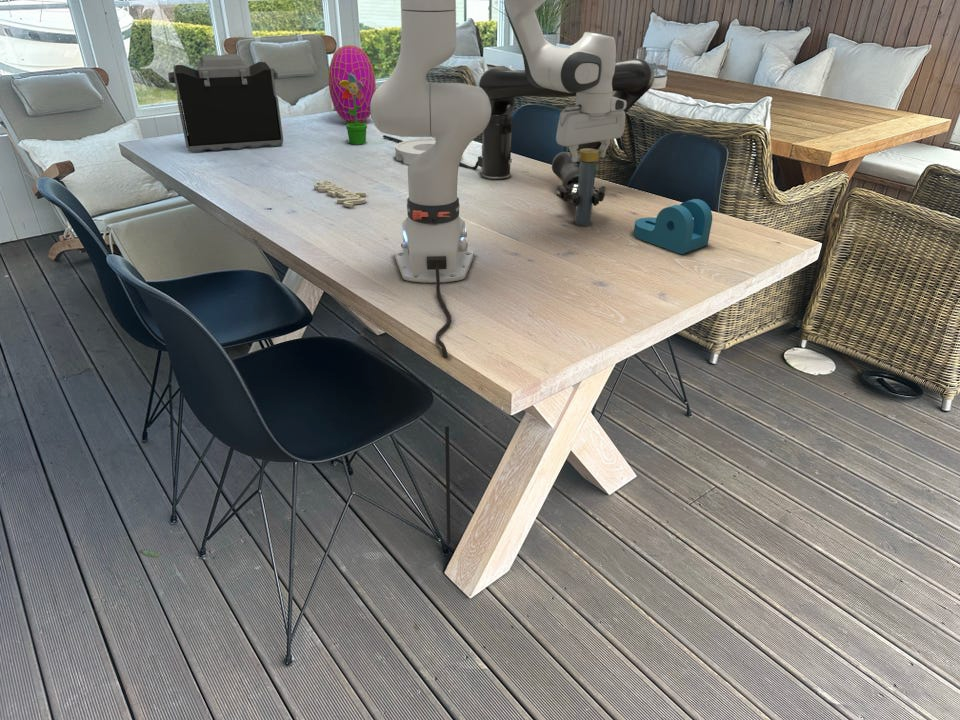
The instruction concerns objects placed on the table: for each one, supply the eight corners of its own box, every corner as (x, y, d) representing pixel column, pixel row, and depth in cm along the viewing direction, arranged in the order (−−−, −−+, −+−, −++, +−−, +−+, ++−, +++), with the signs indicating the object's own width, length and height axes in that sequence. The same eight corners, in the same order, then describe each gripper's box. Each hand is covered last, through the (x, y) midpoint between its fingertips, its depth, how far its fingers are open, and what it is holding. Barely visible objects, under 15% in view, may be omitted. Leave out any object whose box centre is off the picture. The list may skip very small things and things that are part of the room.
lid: (598, 157, 179) (599, 148, 178) (597, 162, 175) (598, 153, 174) (579, 156, 180) (580, 147, 179) (577, 161, 176) (578, 152, 175)
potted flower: (342, 144, 260) (336, 73, 247) (351, 139, 266) (346, 70, 254) (365, 146, 257) (360, 74, 245) (374, 141, 264) (369, 71, 251)
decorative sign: (378, 198, 199) (347, 205, 194) (378, 202, 199) (348, 208, 194) (336, 178, 217) (306, 183, 211) (336, 181, 217) (307, 186, 212)
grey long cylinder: (592, 225, 185) (599, 154, 175) (577, 226, 184) (583, 155, 174) (587, 220, 188) (594, 150, 179) (572, 220, 188) (578, 151, 178)
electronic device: (280, 133, 274) (270, 51, 259) (288, 146, 256) (277, 59, 241) (182, 140, 262) (165, 54, 247) (183, 153, 245) (164, 62, 229)
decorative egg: (362, 116, 305) (357, 42, 290) (386, 123, 292) (382, 46, 277) (324, 121, 294) (316, 45, 279) (347, 129, 281) (340, 49, 266)
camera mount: (707, 244, 172) (715, 204, 167) (681, 254, 167) (689, 212, 161) (650, 225, 184) (656, 186, 179) (624, 233, 179) (629, 194, 173)
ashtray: (454, 167, 232) (454, 155, 230) (388, 164, 235) (387, 152, 233) (466, 151, 252) (466, 140, 250) (404, 148, 255) (404, 137, 253)
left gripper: (569, 109, 163) (565, 167, 170) (631, 101, 173) (625, 156, 180) (552, 105, 168) (549, 162, 175) (614, 97, 178) (608, 151, 185)
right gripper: (552, 170, 193) (560, 187, 178) (603, 170, 193) (615, 188, 179) (550, 196, 197) (558, 215, 182) (600, 196, 197) (611, 215, 182)
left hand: (588, 159), depth 177 cm, fingers open, 7 cm apart
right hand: (586, 202), depth 180 cm, fingers closed on grey long cylinder, 4 cm apart
